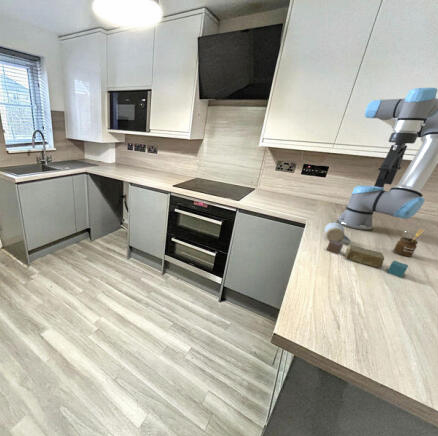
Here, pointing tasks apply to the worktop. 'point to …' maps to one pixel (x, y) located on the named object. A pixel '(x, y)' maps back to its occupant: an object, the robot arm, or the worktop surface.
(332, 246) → the walnut block
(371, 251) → the stone block
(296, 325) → the worktop surface
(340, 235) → the ceramic mug
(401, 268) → the teal block
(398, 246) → the utensil holder
